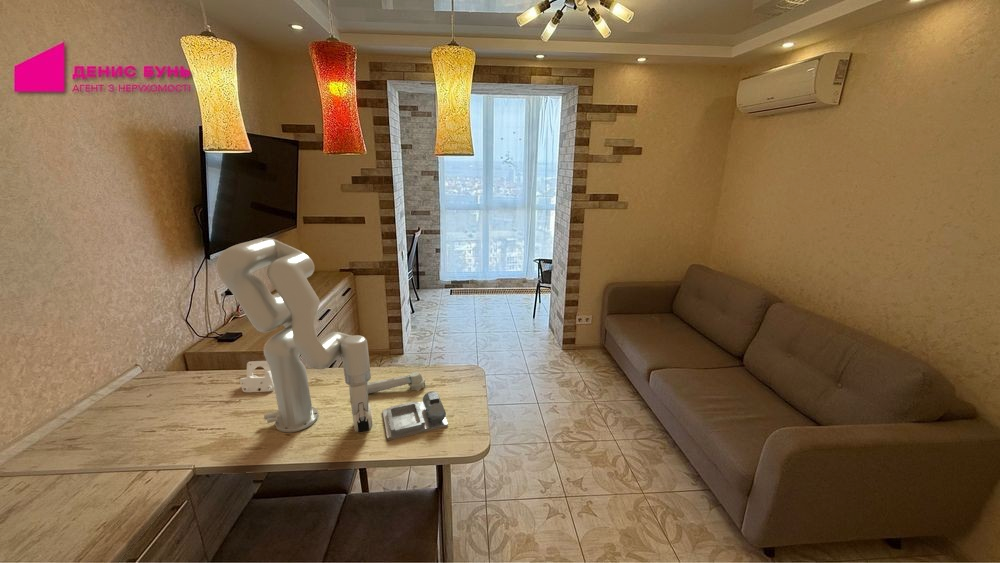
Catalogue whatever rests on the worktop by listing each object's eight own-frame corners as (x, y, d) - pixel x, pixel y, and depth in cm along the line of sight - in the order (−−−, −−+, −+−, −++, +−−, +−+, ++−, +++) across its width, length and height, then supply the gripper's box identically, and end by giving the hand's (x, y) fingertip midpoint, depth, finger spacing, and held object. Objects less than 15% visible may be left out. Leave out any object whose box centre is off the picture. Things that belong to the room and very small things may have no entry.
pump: (354, 434, 122) (351, 412, 120) (353, 423, 127) (351, 401, 125) (373, 430, 124) (370, 408, 122) (371, 419, 129) (369, 398, 127)
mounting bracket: (280, 388, 149) (281, 360, 150) (272, 391, 143) (273, 361, 144) (247, 390, 148) (248, 361, 149) (237, 393, 142) (238, 363, 143)
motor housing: (387, 440, 120) (385, 418, 117) (382, 412, 133) (380, 391, 130) (447, 426, 126) (447, 404, 124) (437, 400, 140) (436, 380, 137)
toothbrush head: (354, 382, 144) (422, 366, 149) (359, 397, 146) (425, 381, 151) (353, 390, 139) (423, 373, 144) (357, 405, 141) (426, 388, 146)
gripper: (344, 364, 126) (349, 409, 131) (345, 392, 111) (351, 442, 116) (368, 359, 129) (373, 404, 134) (372, 387, 114) (377, 436, 119)
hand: (363, 421), depth 125 cm, fingers open, 9 cm apart
